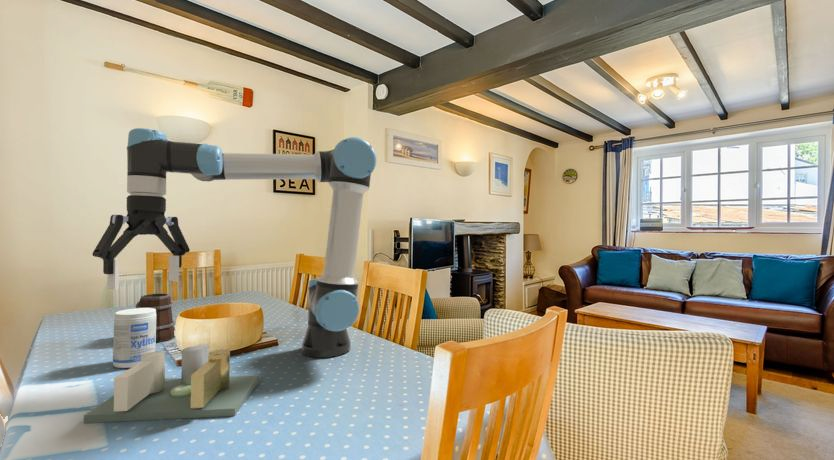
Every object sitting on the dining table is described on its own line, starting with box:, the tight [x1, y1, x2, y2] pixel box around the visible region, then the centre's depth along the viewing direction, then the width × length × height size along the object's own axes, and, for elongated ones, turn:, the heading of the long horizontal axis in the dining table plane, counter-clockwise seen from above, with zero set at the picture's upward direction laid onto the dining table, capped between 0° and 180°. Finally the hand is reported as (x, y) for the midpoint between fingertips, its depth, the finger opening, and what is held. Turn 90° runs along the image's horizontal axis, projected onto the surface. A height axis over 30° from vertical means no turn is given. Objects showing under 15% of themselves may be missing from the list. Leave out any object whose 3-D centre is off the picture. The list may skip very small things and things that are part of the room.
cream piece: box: [113, 350, 166, 411], centre depth 78 cm, size 4×13×8 cm, turn 8°
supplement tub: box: [112, 307, 157, 369], centre depth 103 cm, size 10×10×15 cm
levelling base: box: [83, 344, 260, 424], centre depth 83 cm, size 28×19×10 cm
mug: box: [134, 293, 176, 344], centre depth 125 cm, size 16×12×15 cm
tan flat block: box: [191, 349, 231, 408], centre depth 80 cm, size 4×13×8 cm, turn 8°
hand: (145, 284), depth 87 cm, fingers open, 13 cm apart
